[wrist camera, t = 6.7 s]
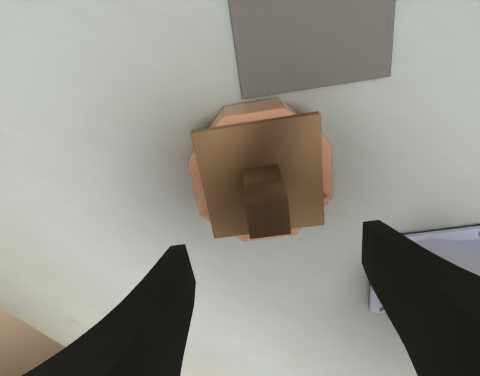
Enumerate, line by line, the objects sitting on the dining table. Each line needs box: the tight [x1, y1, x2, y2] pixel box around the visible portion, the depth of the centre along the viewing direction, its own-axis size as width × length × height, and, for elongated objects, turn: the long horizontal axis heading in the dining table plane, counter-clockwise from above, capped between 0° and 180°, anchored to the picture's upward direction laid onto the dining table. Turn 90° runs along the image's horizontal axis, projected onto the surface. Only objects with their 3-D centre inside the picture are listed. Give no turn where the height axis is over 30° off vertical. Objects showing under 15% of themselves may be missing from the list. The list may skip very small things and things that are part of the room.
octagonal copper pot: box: [188, 98, 332, 241], centre depth 20 cm, size 8×8×3 cm
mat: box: [229, 0, 396, 99], centre depth 17 cm, size 9×9×1 cm
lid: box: [191, 111, 324, 239], centre depth 16 cm, size 7×7×5 cm
